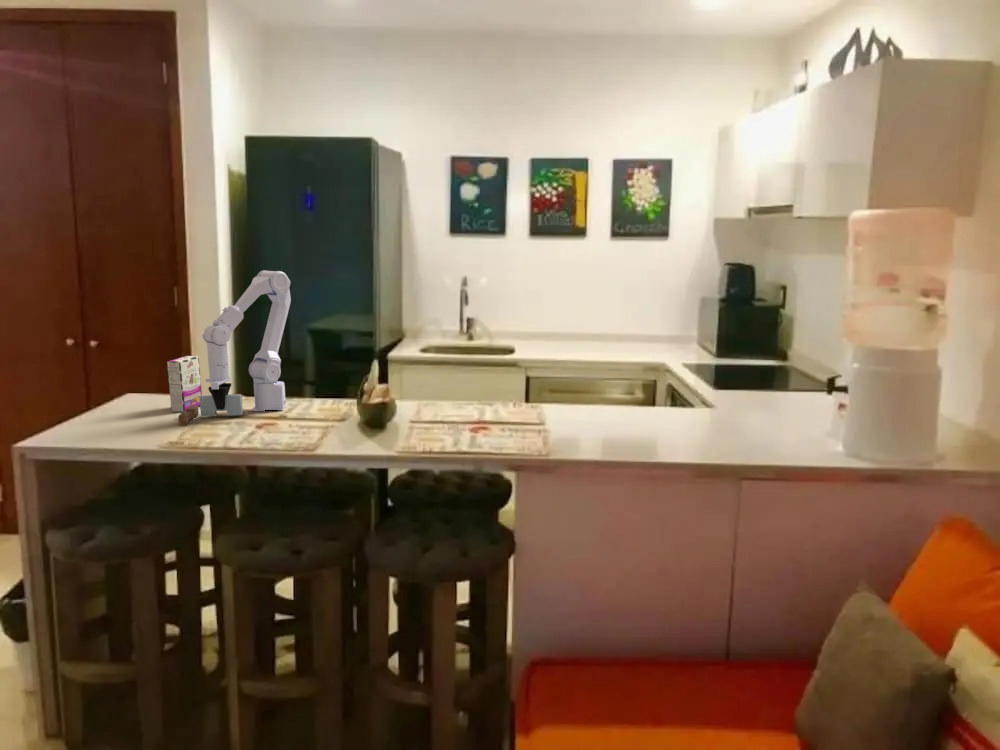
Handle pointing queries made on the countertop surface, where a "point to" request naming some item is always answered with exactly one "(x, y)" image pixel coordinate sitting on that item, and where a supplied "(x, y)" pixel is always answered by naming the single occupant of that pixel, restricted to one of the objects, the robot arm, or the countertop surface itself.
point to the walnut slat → (188, 415)
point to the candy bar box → (184, 383)
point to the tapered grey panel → (231, 405)
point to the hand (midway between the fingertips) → (221, 408)
